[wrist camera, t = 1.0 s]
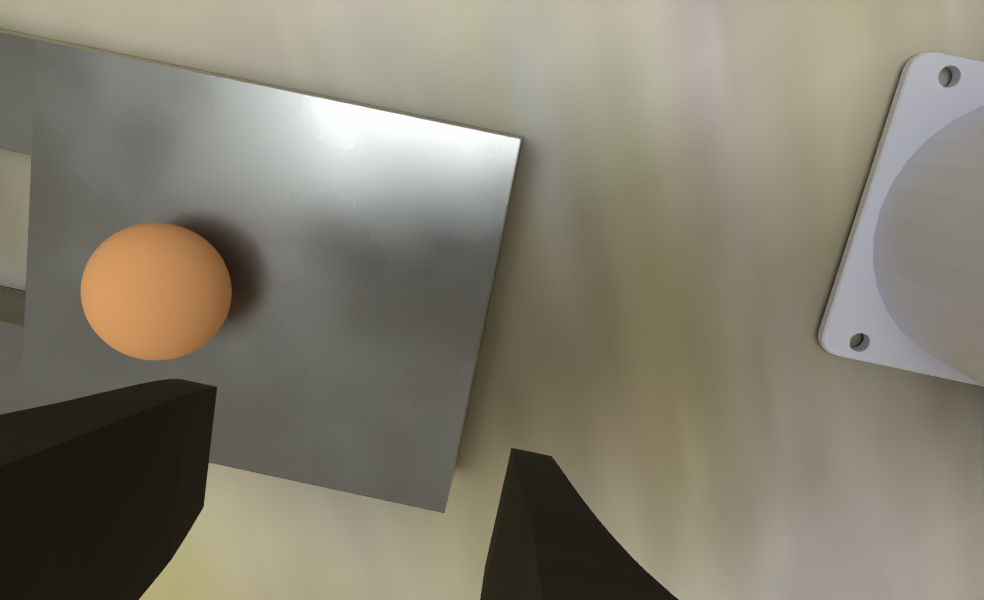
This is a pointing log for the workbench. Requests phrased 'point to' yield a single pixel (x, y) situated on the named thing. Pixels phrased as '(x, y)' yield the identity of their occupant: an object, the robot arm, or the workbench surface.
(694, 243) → the workbench surface
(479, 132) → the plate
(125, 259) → the ball
